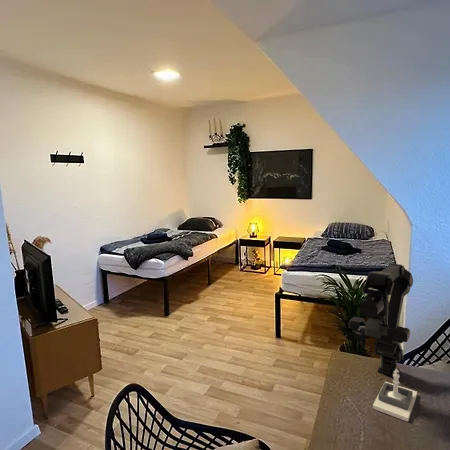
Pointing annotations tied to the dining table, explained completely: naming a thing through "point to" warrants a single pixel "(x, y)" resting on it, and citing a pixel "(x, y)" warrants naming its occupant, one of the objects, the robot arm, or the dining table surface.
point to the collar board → (395, 402)
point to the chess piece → (396, 387)
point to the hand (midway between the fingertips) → (377, 351)
